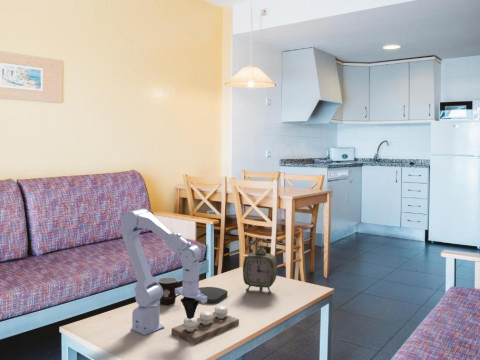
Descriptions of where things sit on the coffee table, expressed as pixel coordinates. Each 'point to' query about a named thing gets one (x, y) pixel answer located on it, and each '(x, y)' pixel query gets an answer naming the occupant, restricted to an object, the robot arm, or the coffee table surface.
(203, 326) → the brown wooden board
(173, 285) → the coffee mug
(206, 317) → the knob middle
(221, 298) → the media streaming box
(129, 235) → the robot arm
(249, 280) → the tabletop clock
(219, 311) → the knob far
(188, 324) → the knob near
